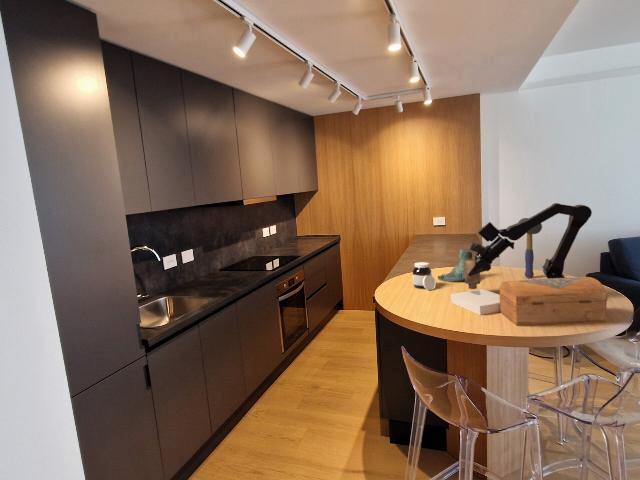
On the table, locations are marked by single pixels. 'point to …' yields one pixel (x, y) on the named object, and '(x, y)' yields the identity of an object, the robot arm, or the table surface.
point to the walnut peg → (473, 279)
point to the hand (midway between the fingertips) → (468, 273)
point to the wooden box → (553, 301)
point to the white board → (478, 301)
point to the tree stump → (457, 268)
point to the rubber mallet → (530, 249)
